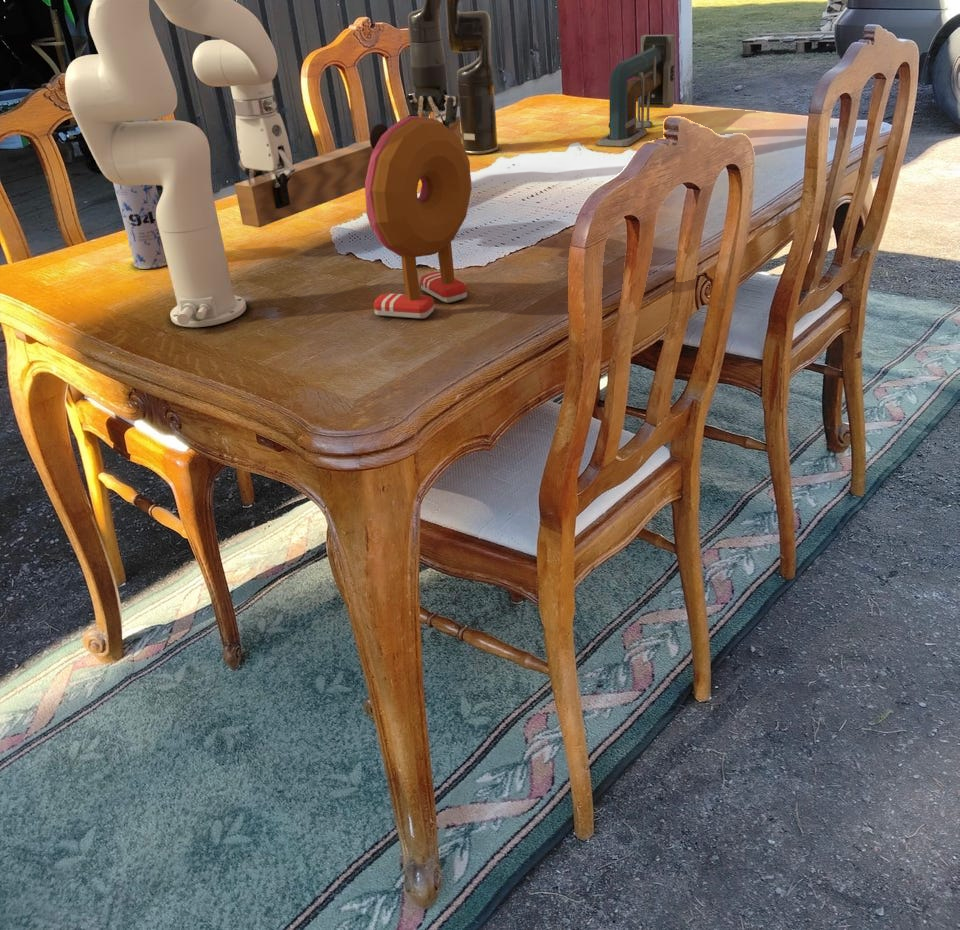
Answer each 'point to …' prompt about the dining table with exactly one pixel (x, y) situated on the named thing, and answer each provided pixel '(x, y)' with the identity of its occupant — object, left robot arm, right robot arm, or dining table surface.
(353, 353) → the dining table surface
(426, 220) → the toy
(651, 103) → the clamp
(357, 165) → the post
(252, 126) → the left robot arm
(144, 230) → the aerosol can
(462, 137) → the right robot arm
